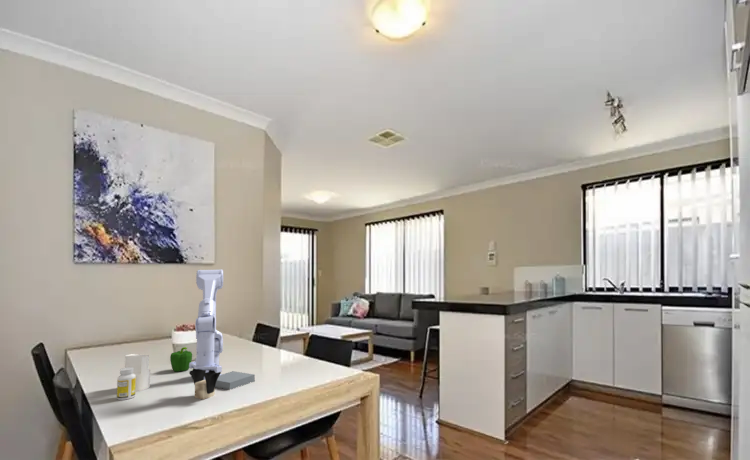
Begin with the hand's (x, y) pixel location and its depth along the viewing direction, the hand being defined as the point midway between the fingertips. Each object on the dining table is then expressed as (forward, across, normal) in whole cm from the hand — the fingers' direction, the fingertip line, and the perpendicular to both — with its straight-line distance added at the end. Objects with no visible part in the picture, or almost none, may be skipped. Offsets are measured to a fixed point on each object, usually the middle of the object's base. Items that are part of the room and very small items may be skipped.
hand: (204, 391), depth 138 cm
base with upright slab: (+2, -32, -5) cm, 32 cm away
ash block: (+2, 0, 0) cm, 2 cm away
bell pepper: (+2, -40, +19) cm, 44 cm away
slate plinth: (+2, -4, +15) cm, 16 cm away
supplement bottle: (+2, -24, -13) cm, 27 cm away
